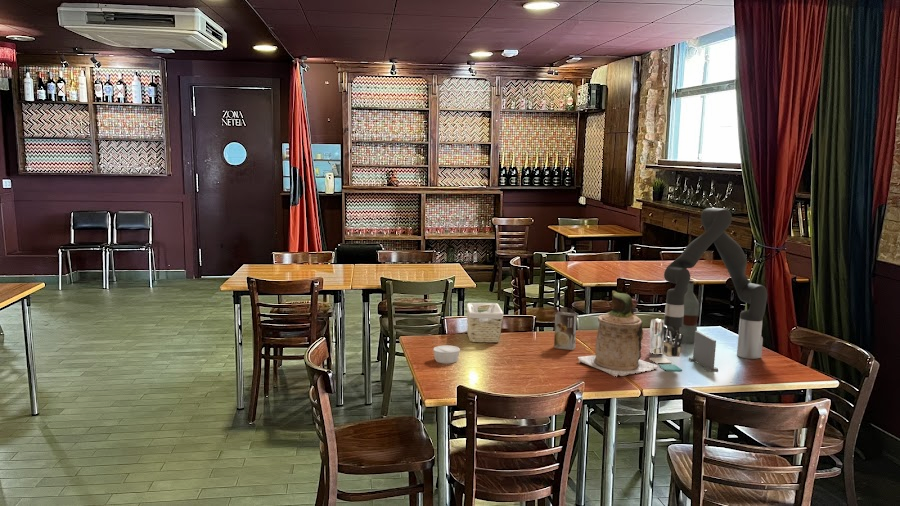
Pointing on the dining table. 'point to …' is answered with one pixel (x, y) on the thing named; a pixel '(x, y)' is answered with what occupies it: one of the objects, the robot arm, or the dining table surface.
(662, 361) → the pad
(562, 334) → the coffee box
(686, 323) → the bottle
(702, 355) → the screen
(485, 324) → the storage basket
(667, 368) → the pad
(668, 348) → the beige cube
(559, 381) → the dining table surface
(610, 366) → the cookie jar
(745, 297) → the robot arm
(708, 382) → the dining table surface
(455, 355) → the ramekin
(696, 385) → the dining table surface
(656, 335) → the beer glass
